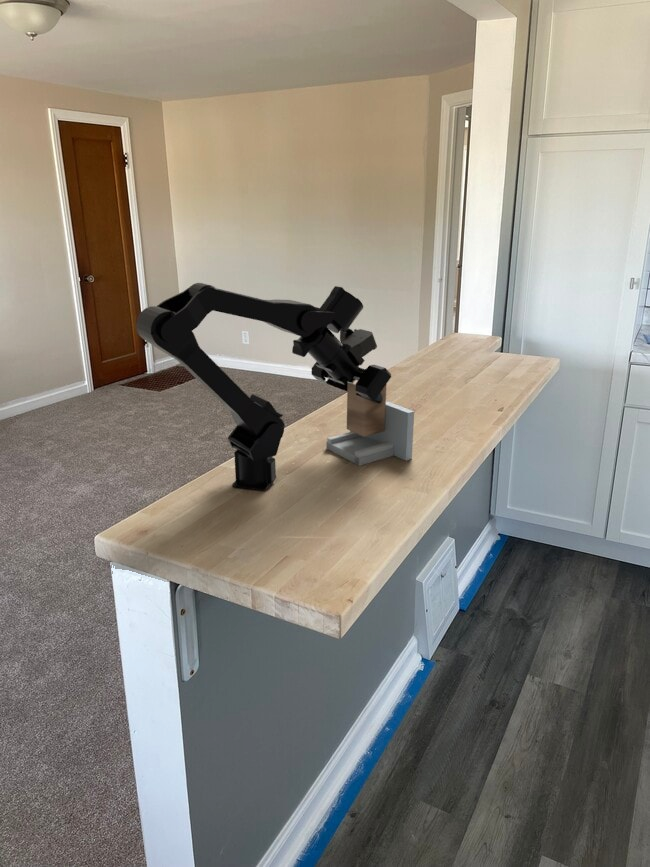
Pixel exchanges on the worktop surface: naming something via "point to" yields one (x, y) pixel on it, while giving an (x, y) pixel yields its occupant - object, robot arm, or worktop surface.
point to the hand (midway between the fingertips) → (371, 398)
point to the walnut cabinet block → (364, 412)
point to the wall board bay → (378, 439)
